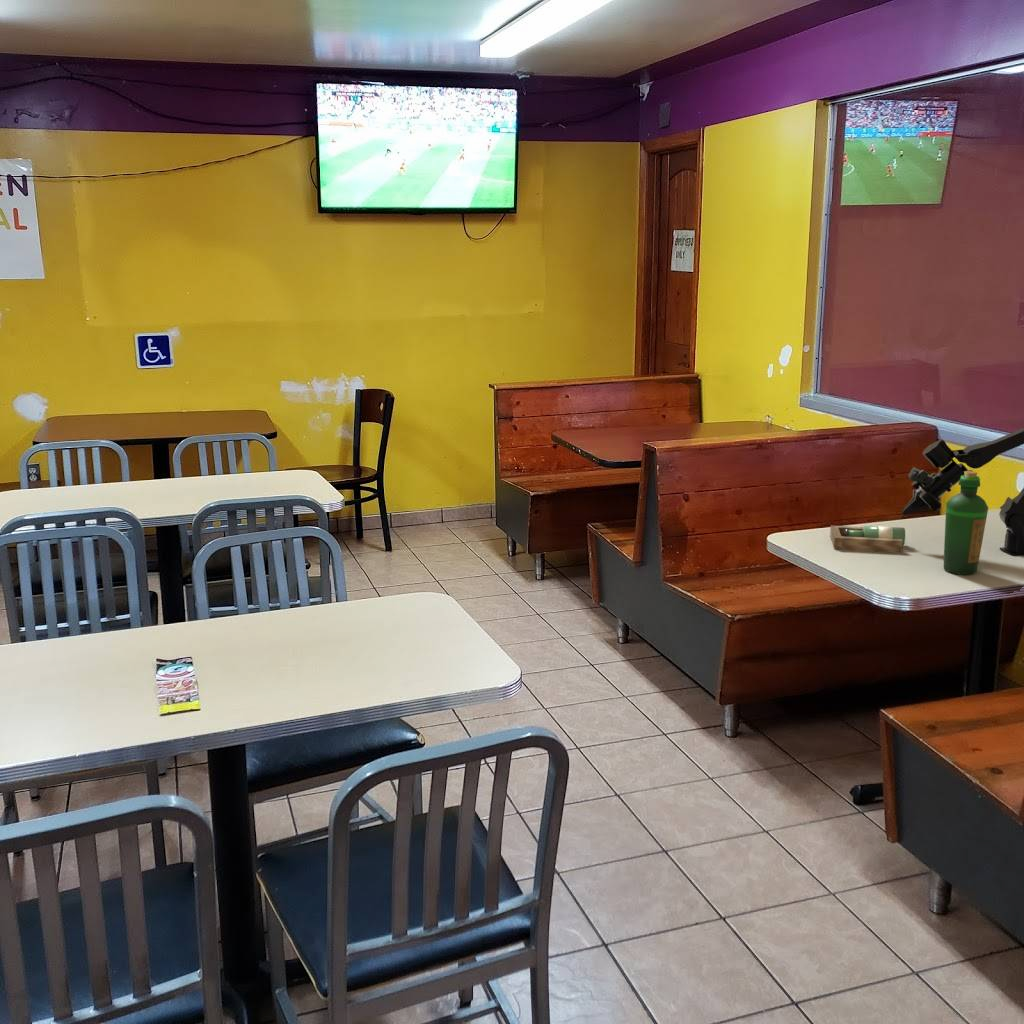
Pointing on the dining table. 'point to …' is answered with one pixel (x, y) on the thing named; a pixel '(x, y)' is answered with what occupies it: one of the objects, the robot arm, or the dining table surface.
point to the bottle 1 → (878, 532)
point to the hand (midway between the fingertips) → (902, 513)
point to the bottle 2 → (964, 527)
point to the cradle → (862, 541)
